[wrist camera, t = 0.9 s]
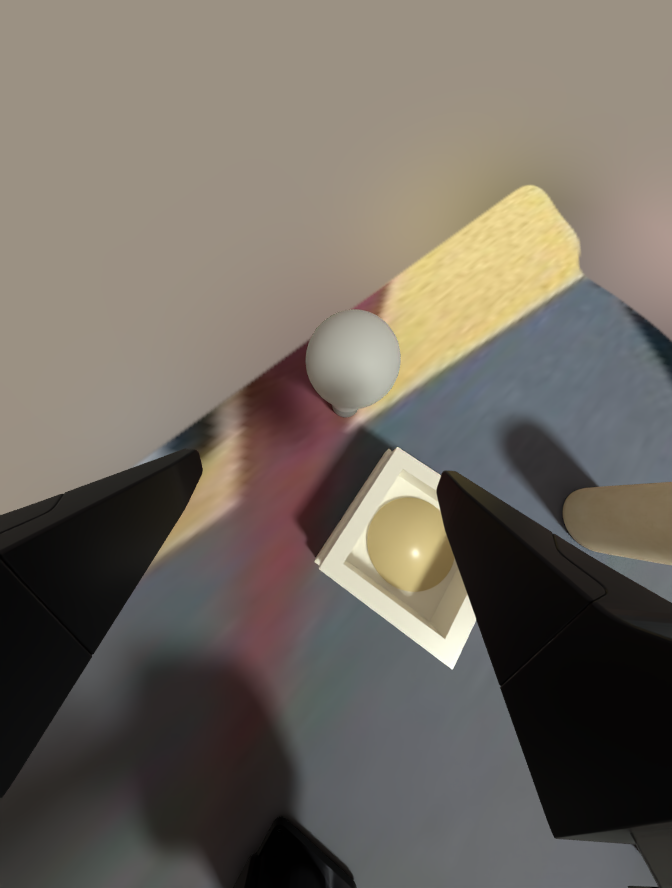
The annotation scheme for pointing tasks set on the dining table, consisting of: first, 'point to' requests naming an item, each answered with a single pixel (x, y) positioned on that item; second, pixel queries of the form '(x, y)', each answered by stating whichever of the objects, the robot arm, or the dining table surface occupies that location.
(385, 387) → the lightbulb
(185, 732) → the dining table surface
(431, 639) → the socket
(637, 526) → the candle
